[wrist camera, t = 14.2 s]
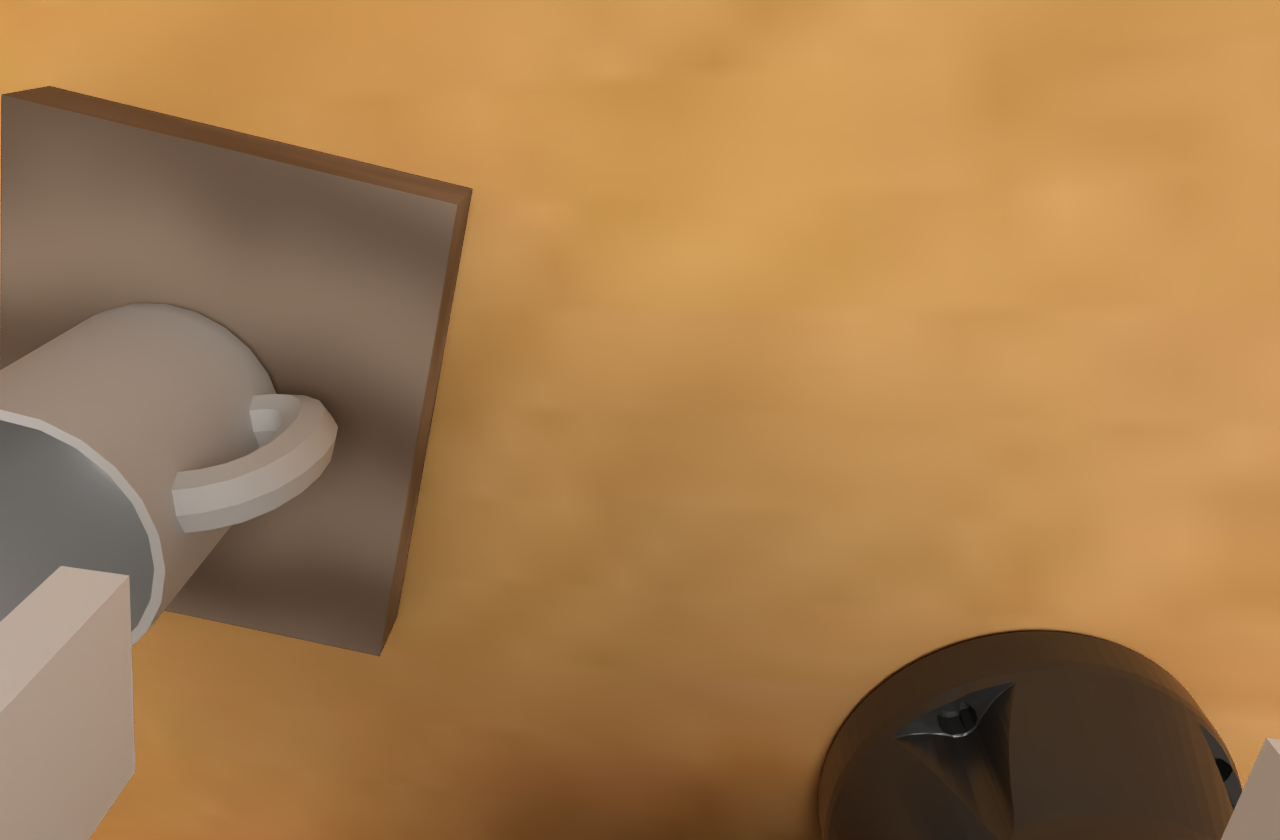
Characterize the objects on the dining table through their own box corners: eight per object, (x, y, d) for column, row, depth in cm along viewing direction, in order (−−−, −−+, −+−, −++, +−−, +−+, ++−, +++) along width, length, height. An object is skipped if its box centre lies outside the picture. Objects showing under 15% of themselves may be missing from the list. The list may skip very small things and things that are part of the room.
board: (396, 616, 39) (379, 656, 37) (39, 538, 38) (-2, 575, 36) (472, 188, 33) (457, 204, 31) (49, 86, 32) (1, 94, 30)
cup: (25, 310, 32) (-194, 424, 24) (346, 274, 32) (233, 378, 24) (98, 521, 35) (-76, 687, 27) (396, 492, 34) (310, 654, 26)
